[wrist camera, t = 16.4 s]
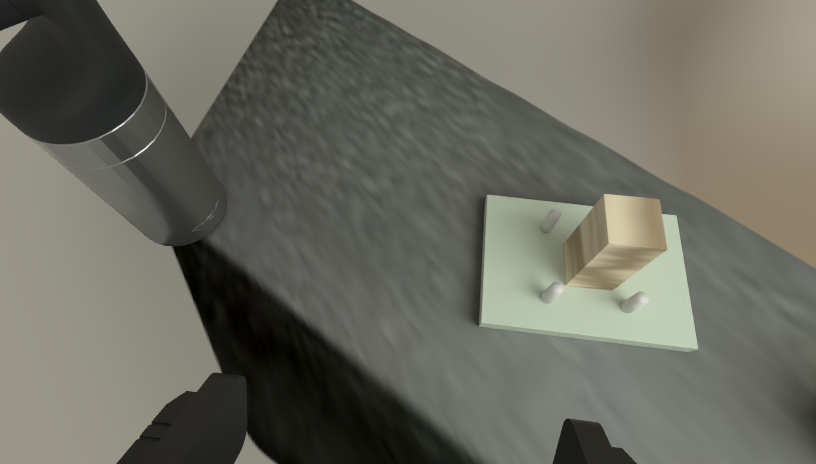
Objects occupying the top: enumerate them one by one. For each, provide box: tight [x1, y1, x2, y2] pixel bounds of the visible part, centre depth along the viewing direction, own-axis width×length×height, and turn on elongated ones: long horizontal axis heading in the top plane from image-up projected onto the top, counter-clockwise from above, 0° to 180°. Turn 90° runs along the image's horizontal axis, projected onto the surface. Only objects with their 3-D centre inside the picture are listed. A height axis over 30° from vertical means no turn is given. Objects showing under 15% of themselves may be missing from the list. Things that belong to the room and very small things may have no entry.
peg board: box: [479, 195, 698, 352], centre depth 44 cm, size 20×14×4 cm
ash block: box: [563, 194, 667, 291], centre depth 40 cm, size 4×4×10 cm
